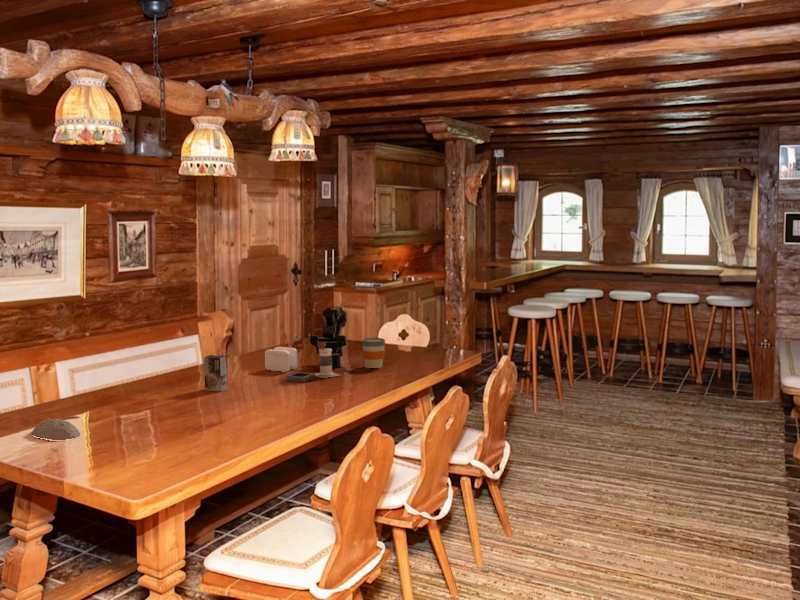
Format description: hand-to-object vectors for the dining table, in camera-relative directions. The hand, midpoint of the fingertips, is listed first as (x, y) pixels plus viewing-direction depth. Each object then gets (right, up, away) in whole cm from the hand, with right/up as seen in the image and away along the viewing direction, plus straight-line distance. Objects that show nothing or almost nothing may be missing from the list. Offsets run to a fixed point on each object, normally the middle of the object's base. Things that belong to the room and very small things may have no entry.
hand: (326, 353), depth 400 cm
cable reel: (0, -11, 0) cm, 11 cm away
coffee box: (-49, -15, -31) cm, 60 cm away
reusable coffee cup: (+24, -9, +22) cm, 33 cm away
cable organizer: (-25, -10, +14) cm, 31 cm away
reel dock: (-12, -12, -10) cm, 20 cm away
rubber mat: (0, -11, 0) cm, 11 cm away
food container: (-92, -24, -105) cm, 142 cm away
